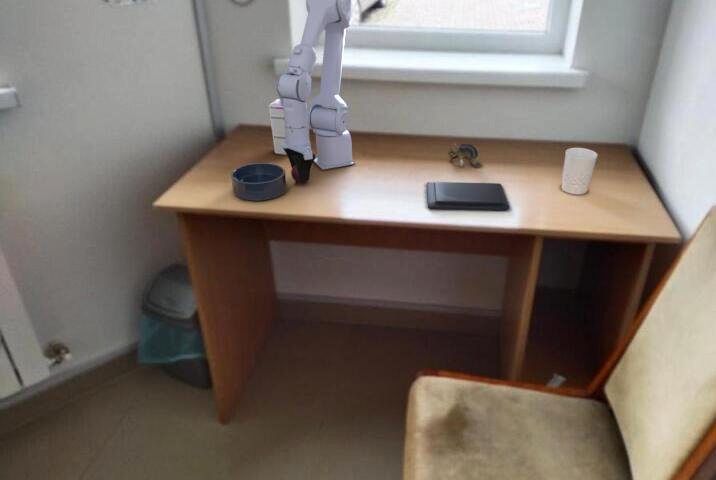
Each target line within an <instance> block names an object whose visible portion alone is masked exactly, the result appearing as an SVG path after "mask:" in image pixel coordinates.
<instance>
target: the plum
mask: <svg viewBox="0 0 716 480" xmlns="http://www.w3.org/2000/svg"><path fill="white" fill-rule="evenodd" d="M290 175H291V178H292V179H293V180H294V181H295V184H297V185H305V184H307V183H308V181H303V182H301V181H300V178H299V175H298V170H297V167H296V165H295V166H294V167H293V168H292V167H291V170H290Z"/></svg>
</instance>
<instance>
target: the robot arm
mask: <svg viewBox="0 0 716 480" xmlns="http://www.w3.org/2000/svg"><path fill="white" fill-rule="evenodd" d="M305 6H306V11H307V17H306V21H305V24H304V28H303V32H302V35H301V41H300V43H298V44H297V45H294V47H293V49H292V52H291V55H290V59H289V61H288V63H287V66H286V69H285V71H284V73H282V74H281V75H279V76H278V79H277V81H276V87H275V92H276V95H277V96H278V99H280V104H281V106H283V111H284V122H285V131H286V134H285V138H286V143H283V144H282V147H283V149H284V151H285V152H286V154H287V155H286V156H287V158H288V160H289V163H290V167H291V169H292V168H293V167H294V166H295V165H296V167H297V170H298V175H299V178H300V181H301V182H303V181H307V182H308V181H310V177H311V170H312V167H313V163H315V164H316V165H317V166H318V167H319V168H320V170H329V169H334V168H340V167H345V166H346V167H347V166H351V165H354V161H353V142H352V136H351V133H350V131H349V130H347V129H348V125H349V113H348V110H349V106H348V105H347V103H346V102H345V101H344V100H343V99H342V98H341V97H340V90H341V80H342V71H343V70H342V69H343V60H344V48H345V42H346V41H345V40H346V39H345V38H346V29H348V28H349V27H351V21H352V9H353V1H352V0H305ZM324 31H325V32H324ZM323 32H324V42H323V43H324V44H323V53H322V66H321V75H320V77H321V78H320V88H319V94H318V95H317V96H315V97H314V98H313V99H311V101H310V105H309V110H308V99H309V98H310V95H311V93H312V73H313V70H314V68H315V64H316V61H317V59H318V55H317V53H316V47H317V46H318V43H319V41H320V39H321V38H322V37H321V36H322V35H323ZM325 106H329V107H325ZM332 107H333V108H332ZM310 129H312V133H314V134H315V144H316V154H314V153H313V150H312V143H311V140H310V139H311V138H310Z"/></svg>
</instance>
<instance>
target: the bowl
mask: <svg viewBox="0 0 716 480" xmlns="http://www.w3.org/2000/svg"><path fill="white" fill-rule="evenodd" d="M286 177H287V176H286V170H285V169H284V167H283V166H280V165H278V164H275V163H269V162H254V163H248V164H244V165H241V166H238V167H237V168H235V169H233V170H232V171H231V172H230V180H231V186H232V191H233V194H234V195H235V197H238V198H240V199H242V200H245V201H266V200H271V199H275V198H277V197H280V196H281V195H283V194H285V192H286V191H287V189H288V188H287V187H288V185H287V178H286Z"/></svg>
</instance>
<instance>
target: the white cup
mask: <svg viewBox="0 0 716 480" xmlns="http://www.w3.org/2000/svg"><path fill="white" fill-rule="evenodd" d="M598 156H599V155H598V153H597V152H596V151H594V150H591V149H590V148H585V147H570V148H567V149H566V150H565V154H564V162H563V167H562V176H561V190H562V191H563V192H565V193H568V194H572V195H584V194H586V193H587V192H588V191H589V187H590V183H591V180H592V177H593V174H594V171H595V167H596V163H597V160H598Z"/></svg>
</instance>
